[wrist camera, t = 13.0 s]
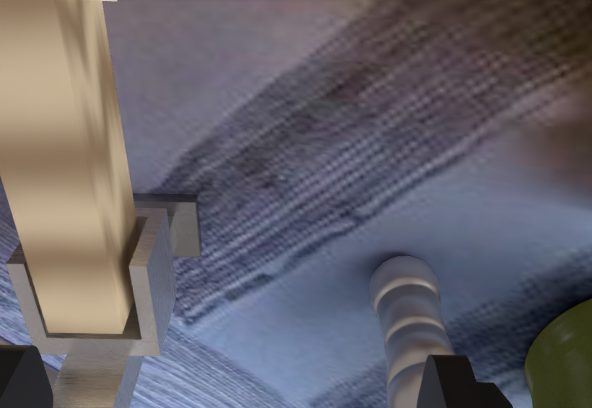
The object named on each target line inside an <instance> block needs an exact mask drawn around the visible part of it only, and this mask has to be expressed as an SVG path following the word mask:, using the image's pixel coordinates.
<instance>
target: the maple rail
mask: <svg viewBox="0 0 592 408" xmlns="http://www.w3.org/2000/svg"><path fill="white" fill-rule="evenodd" d="M0 176H1V179H2V183H3V186H4V189H5V192H6V196H7V199H8V202H9V205H10V209H11V212H12V215H13V218H14V222H15V225H16V228H17V231H18V235H19V238H20V241H21V245H22V248H23V251H24V254H25V258H26V261H27V264H28V267H29V271H30V274H31V277H32V280H33V284H34V287H35V290H36V294H37V297H38V300H39V303H40V307H41V310H42V313H43V316H44V320H45V323H46V326H47V329H48V333H96V334H122V333H123V330H124V327H125V324H126V321H127V318H128V315H129V313H130V310H131V307H132V304H133V301H134V292H133V287H132V281H131V276H130V270H129V265H130V262H131V259H132V257H133V254H134V252H135V249H136V247H137V244H138V241H139V239H140V238H139V231H138V225H137V219H136V213H135V206H134V200H133V194H132V187H131V181H130V175H129V169H128V162H127V156H126V150H125V144H124V137H123V131H122V125H121V119H120V112H119V106H118V100H117V93H116V87H115V81H114V75H113V68H112V62H111V56H110V50H109V43H108V37H107V31H106V24H105V18H104V12H103V6H102V0H0Z"/></svg>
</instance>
